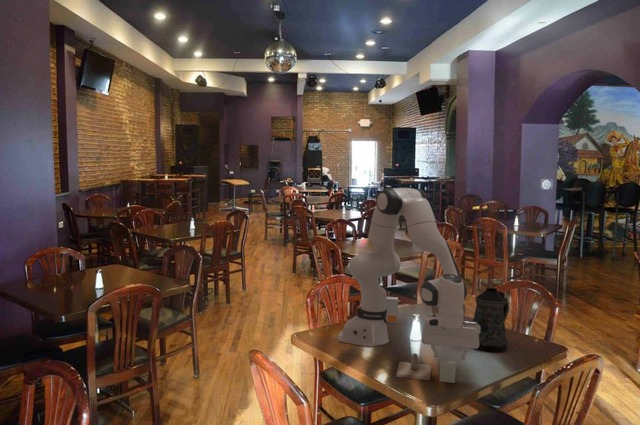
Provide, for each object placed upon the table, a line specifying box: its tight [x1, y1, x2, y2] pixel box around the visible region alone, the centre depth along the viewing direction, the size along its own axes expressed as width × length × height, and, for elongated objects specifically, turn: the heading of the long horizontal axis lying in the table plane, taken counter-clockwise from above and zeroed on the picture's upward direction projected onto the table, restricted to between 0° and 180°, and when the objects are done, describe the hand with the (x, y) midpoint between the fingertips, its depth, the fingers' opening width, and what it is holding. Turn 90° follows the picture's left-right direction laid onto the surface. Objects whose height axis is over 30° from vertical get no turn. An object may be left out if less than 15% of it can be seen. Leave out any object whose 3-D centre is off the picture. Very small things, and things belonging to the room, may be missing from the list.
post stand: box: [396, 352, 432, 381], centre depth 197 cm, size 12×12×7 cm
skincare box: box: [386, 296, 399, 324], centre depth 259 cm, size 6×4×12 cm
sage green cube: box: [438, 359, 457, 384], centre depth 191 cm, size 5×5×6 cm
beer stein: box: [472, 287, 510, 354], centre depth 228 cm, size 16×19×25 cm
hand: (449, 357), depth 190 cm, fingers open, 8 cm apart
